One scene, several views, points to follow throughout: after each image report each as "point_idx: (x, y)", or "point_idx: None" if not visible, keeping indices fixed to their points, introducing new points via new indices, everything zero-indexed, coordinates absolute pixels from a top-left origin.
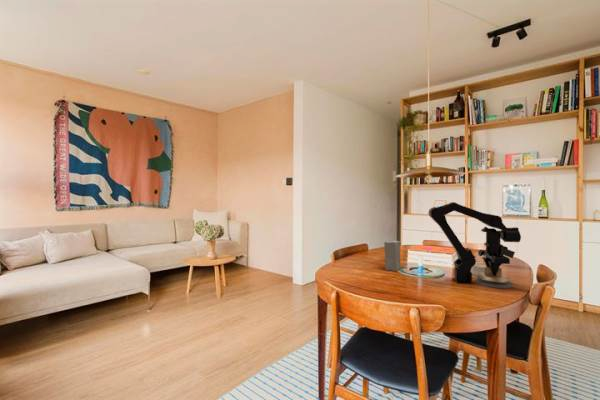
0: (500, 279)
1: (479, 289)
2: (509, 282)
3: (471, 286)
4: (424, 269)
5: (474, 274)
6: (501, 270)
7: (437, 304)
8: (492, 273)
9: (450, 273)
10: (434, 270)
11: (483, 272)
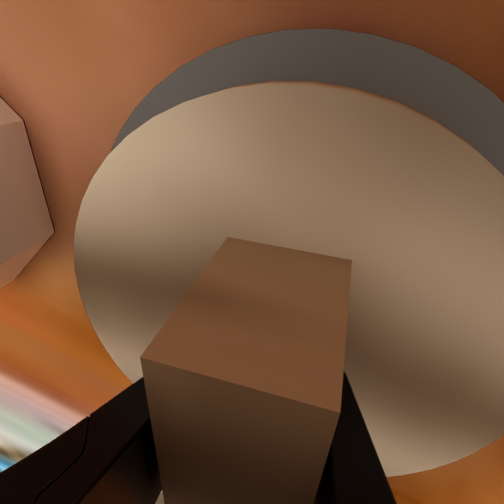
0: (491, 363)
1: (500, 499)
2: (345, 65)
3: (395, 490)
4: (13, 462)
5: (12, 278)
6: (340, 371)
7: None
8: None
9: (43, 401)
10: (10, 435)
11: (5, 253)
